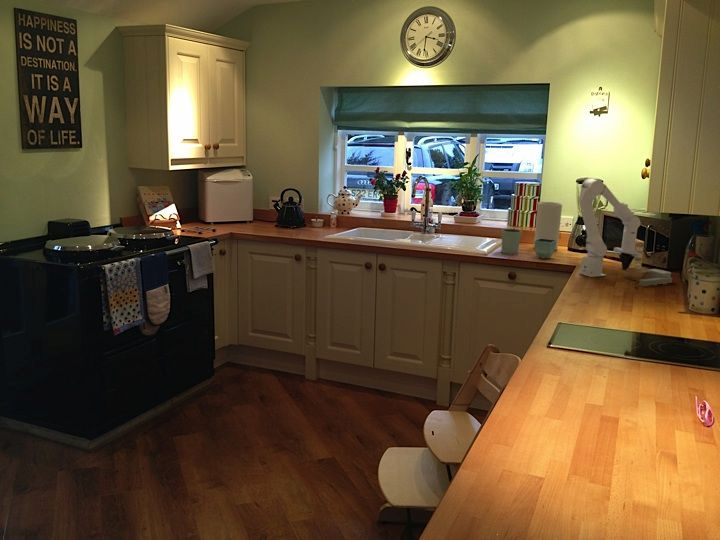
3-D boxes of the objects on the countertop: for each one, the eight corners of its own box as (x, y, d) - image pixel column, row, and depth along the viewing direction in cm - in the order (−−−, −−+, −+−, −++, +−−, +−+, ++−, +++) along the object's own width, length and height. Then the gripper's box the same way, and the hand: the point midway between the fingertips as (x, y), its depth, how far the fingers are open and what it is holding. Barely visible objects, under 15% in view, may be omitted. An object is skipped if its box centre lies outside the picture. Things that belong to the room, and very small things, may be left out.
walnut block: (640, 282, 312) (641, 272, 311) (625, 278, 319) (626, 268, 318) (648, 281, 315) (650, 271, 314) (633, 277, 322) (635, 267, 321)
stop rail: (643, 286, 303) (644, 280, 303) (638, 285, 305) (639, 279, 305) (671, 283, 311) (672, 278, 311) (667, 282, 313) (668, 276, 313)
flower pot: (532, 257, 355) (534, 240, 353) (538, 255, 363) (539, 238, 361) (549, 260, 351) (551, 242, 349) (554, 257, 358) (556, 240, 356)
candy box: (640, 273, 329) (645, 241, 326) (632, 273, 329) (636, 241, 325) (631, 269, 338) (635, 238, 335) (623, 269, 337) (627, 237, 334)
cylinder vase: (532, 246, 387) (536, 201, 381) (555, 247, 386) (560, 202, 380) (535, 250, 375) (540, 204, 369) (559, 252, 373) (564, 205, 368)
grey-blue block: (661, 283, 312) (663, 273, 311) (646, 279, 318) (647, 269, 317) (669, 282, 315) (671, 272, 314) (654, 278, 322) (655, 268, 321)
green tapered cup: (522, 252, 367) (524, 230, 364) (515, 255, 358) (517, 232, 356) (503, 250, 372) (505, 227, 369) (496, 252, 364) (498, 230, 361)
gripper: (647, 243, 316) (643, 272, 319) (622, 237, 328) (619, 266, 331) (636, 244, 312) (632, 273, 315) (611, 238, 325) (608, 266, 328)
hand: (625, 269), depth 323 cm, fingers closed
